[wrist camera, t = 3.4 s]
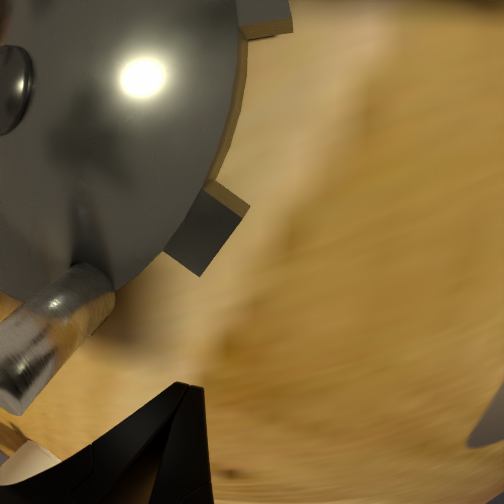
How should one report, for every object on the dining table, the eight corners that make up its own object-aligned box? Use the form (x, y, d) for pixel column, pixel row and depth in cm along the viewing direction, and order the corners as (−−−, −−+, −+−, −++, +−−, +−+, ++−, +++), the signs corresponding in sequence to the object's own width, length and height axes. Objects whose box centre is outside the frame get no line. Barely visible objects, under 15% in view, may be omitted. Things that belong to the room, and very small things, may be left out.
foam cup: (22, 423, 24) (-36, 503, 12) (89, 476, 25) (44, 561, 13) (13, 439, 27) (-32, 504, 15) (69, 483, 29) (31, 551, 17)
